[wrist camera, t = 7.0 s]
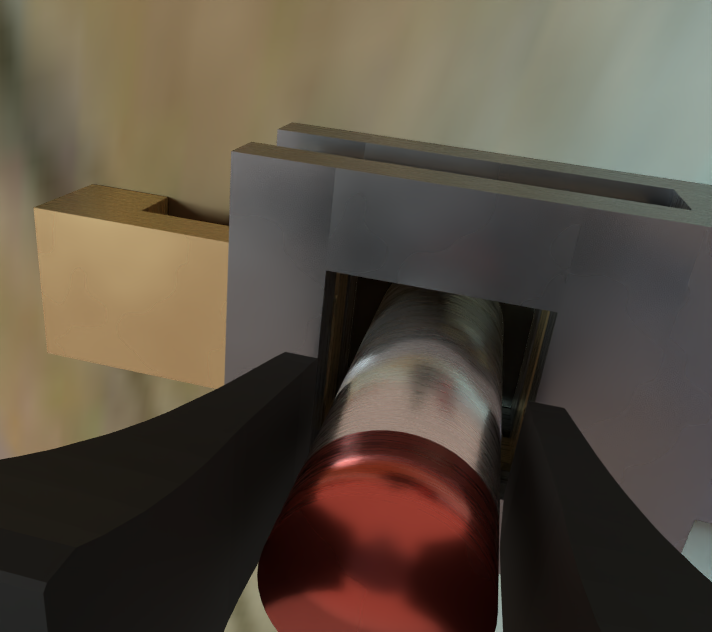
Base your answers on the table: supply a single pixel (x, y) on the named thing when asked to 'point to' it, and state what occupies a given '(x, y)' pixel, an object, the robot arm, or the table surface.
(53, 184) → the table surface
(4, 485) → the robot arm
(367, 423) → the clear red-capped cylinder
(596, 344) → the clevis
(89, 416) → the table surface
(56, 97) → the table surface
